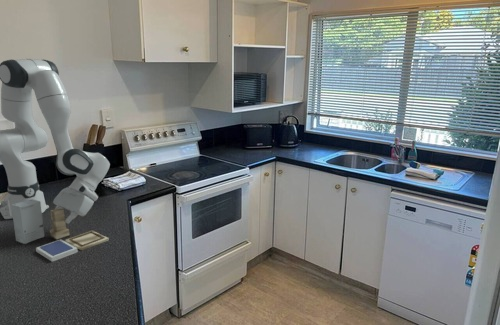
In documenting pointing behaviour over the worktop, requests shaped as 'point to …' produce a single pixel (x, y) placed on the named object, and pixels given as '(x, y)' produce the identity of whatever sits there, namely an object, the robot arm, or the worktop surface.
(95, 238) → the box board
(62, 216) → the stamp
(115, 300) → the worktop surface
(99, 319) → the worktop surface
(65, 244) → the ink pad
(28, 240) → the skincare box
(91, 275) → the worktop surface
